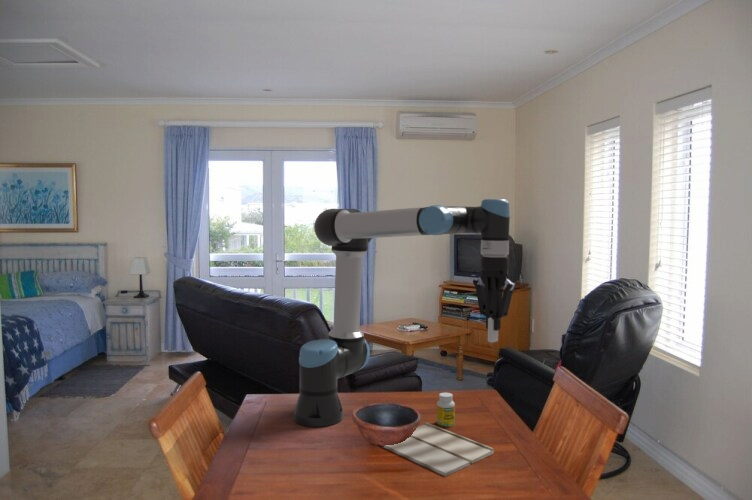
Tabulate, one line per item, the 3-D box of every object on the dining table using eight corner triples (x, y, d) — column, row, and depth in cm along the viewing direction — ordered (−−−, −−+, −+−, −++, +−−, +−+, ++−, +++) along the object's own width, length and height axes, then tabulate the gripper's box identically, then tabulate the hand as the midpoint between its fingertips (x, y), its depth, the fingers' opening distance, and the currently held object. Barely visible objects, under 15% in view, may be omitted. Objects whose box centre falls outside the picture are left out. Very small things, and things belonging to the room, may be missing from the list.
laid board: (377, 447, 149) (378, 441, 149) (403, 437, 156) (403, 432, 156) (445, 479, 131) (445, 473, 131) (471, 466, 138) (471, 461, 138)
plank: (404, 437, 156) (404, 430, 156) (426, 428, 162) (426, 422, 162) (472, 466, 138) (472, 459, 138) (493, 455, 144) (493, 448, 144)
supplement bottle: (447, 421, 168) (448, 390, 168) (458, 427, 164) (458, 395, 163) (433, 424, 166) (433, 393, 165) (443, 430, 161) (443, 398, 161)
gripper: (466, 255, 152) (465, 339, 154) (506, 258, 143) (504, 347, 144) (483, 253, 157) (482, 335, 159) (523, 256, 148) (521, 343, 149)
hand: (492, 341), depth 151 cm, fingers closed
